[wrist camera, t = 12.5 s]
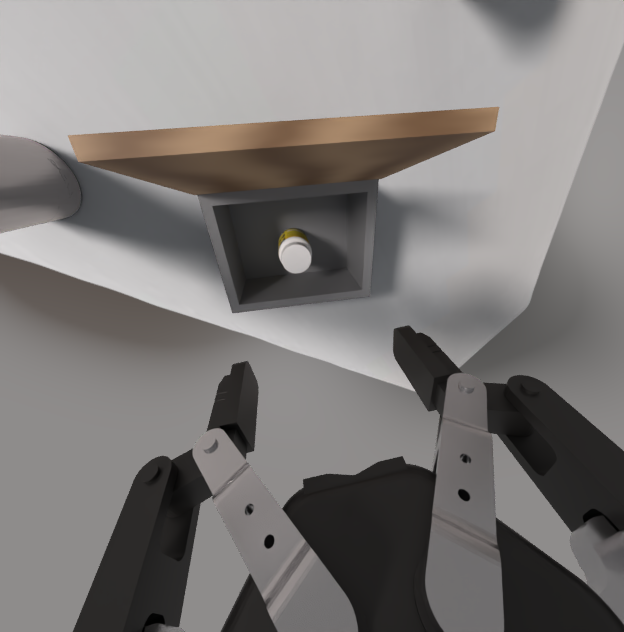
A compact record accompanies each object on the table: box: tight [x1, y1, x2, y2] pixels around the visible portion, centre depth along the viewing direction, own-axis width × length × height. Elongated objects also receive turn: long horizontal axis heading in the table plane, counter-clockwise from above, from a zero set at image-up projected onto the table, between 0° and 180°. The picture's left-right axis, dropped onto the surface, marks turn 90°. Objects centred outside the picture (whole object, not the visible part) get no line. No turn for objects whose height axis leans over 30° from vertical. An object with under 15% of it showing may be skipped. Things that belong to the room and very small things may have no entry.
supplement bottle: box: [278, 228, 312, 274], centre depth 34 cm, size 5×5×8 cm
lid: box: [68, 107, 499, 195], centre depth 18 cm, size 21×15×1 cm
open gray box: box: [198, 179, 379, 313], centre depth 34 cm, size 20×15×10 cm
